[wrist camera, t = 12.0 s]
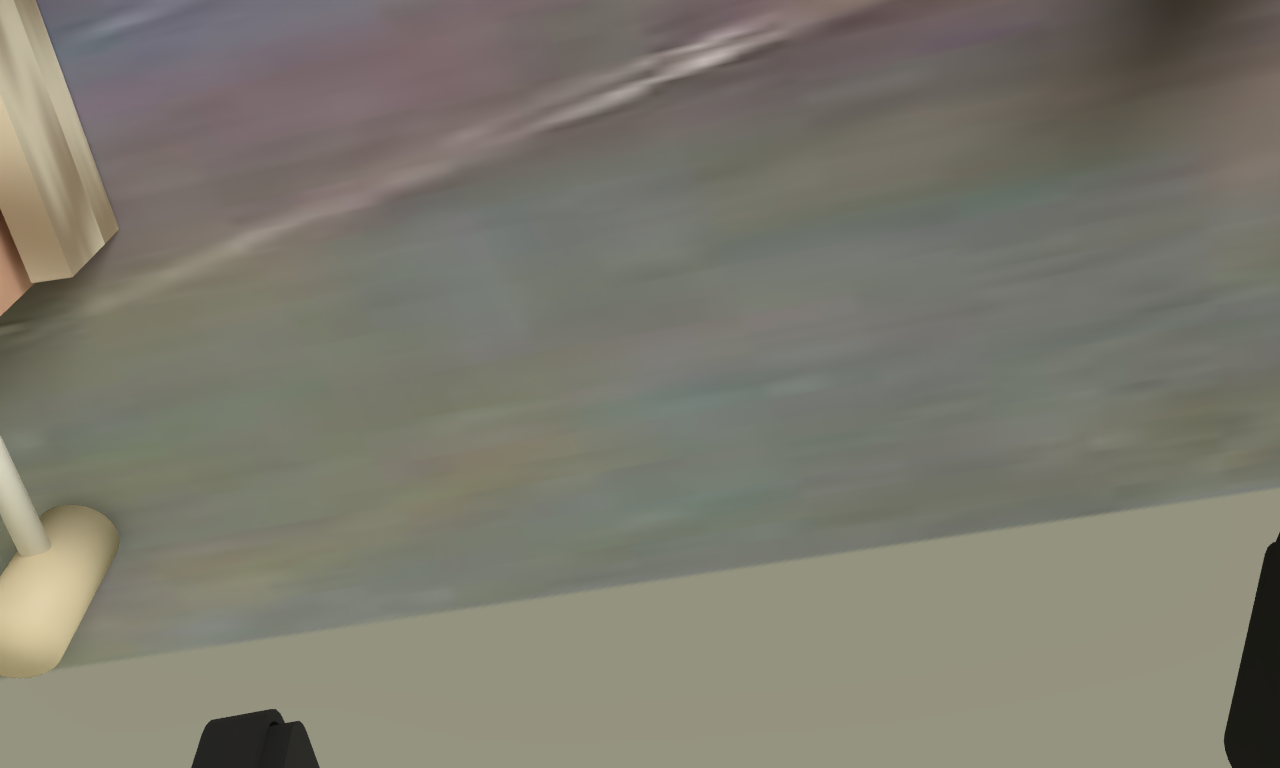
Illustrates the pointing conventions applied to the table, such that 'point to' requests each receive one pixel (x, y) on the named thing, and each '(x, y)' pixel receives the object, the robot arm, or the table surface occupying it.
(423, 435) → the table surface
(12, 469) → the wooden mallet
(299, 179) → the table surface
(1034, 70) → the table surface
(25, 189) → the wooden tray
